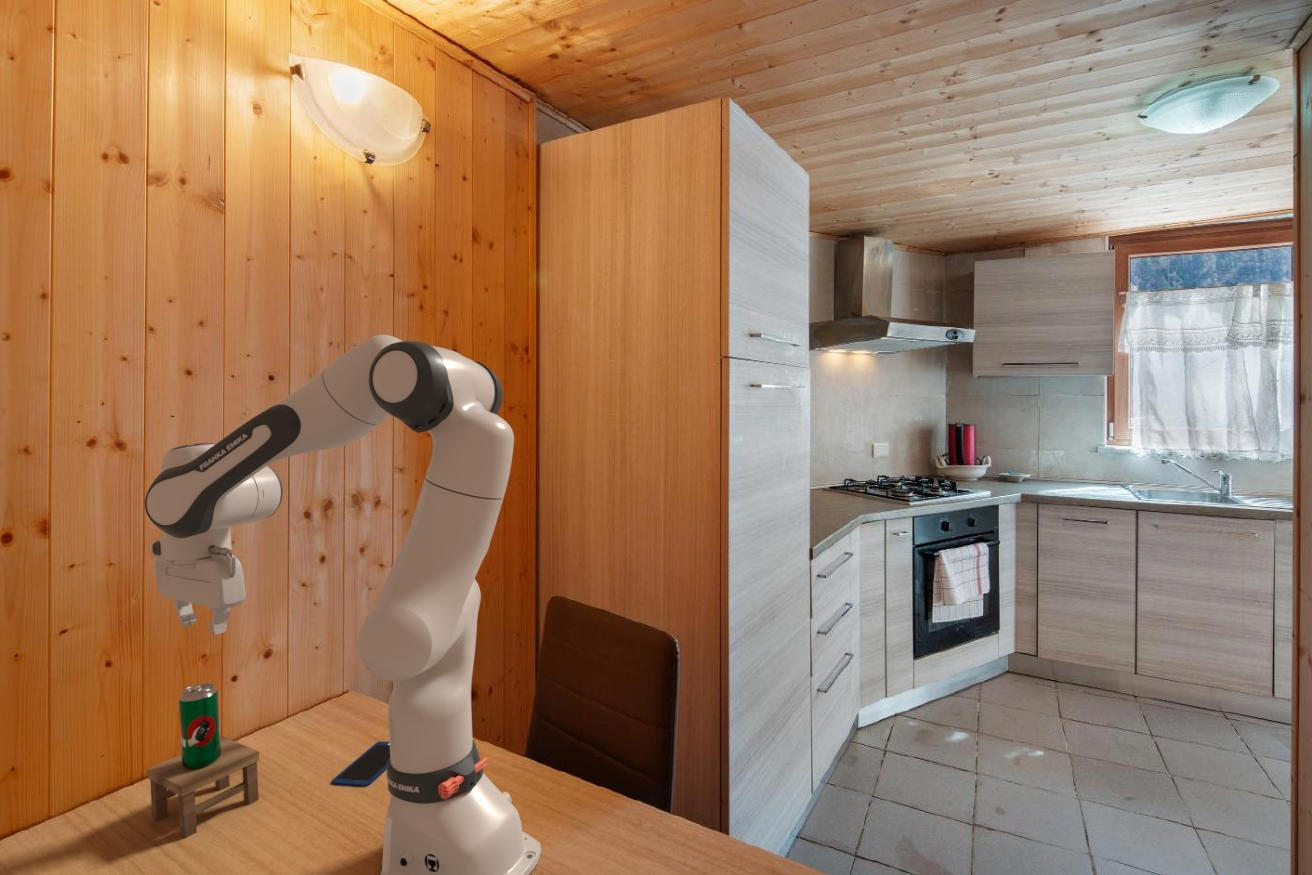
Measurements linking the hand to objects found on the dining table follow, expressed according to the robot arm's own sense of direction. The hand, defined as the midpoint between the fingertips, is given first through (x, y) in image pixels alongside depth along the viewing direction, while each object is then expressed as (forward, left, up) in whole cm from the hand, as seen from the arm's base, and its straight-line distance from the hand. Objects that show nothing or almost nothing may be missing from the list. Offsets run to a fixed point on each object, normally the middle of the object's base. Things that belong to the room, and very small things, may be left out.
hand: (202, 629), depth 100 cm
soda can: (-1, +1, -21) cm, 21 cm away
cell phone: (-13, -20, -30) cm, 38 cm away
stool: (0, +1, -29) cm, 29 cm away
